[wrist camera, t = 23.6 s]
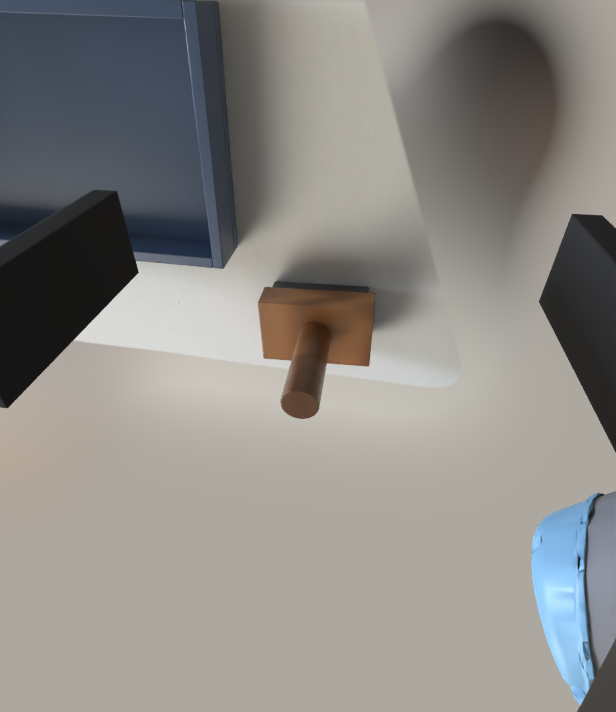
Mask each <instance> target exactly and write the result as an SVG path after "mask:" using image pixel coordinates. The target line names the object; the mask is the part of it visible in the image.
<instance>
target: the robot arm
mask: <svg viewBox="0 0 616 712" xmlns="http://www.w3.org/2000/svg"><path fill="white" fill-rule="evenodd" d="M138 273H139V272H138V268H137V265H136V261H135V257H134V253H133V249H132V246H131V242H130V238H129V234H128V230H127V227H126V223H125V219H124V215H123V211H122V208H121V204H120V200H119V196H118V192H117V191H109V190H92V191H91V192H89V193H87V194H86V195H84V196H82V197H81V198H79V199H77V200H76V201H74V202H72V203H71V204H69V205H67V206H66V207H64V208H62V209H61V210H59V211H57V212H56V213H54V214H52V215H51V216H49V217H47V218H46V219H44V220H42V221H41V222H39V223H37V224H36V225H34V226H32V227H31V228H29V229H27V230H26V231H24V232H22V233H21V234H19V235H17V236H16V237H14V238H13V239H11V240H9V241H8V242H6V243H4V244H3V245H1V246H0V407H2V408H8V407H9V406H10V405H11V404H12V403H13V402H14V401H15V400H16V399H17V398H18V397H19V396H20V395H21V394H22V393H23V392H24V391H25V390H26V388H27V387H29V386H30V384H31V383H32V382H33V381H34V380H35V379H36V378H37V377H38V376H39V375H40V374H41V373H42V372H43V371H44V370H45V369H46V368H47V367H48V366H49V365H50V364H51V363H52V362H53V361H54V360H55V359H56V357H58V355H59V354H60V353H61V352H62V351H63V350H64V349H65V348H66V347H67V346H68V345H69V344H70V343H71V342H72V341H73V340H74V339H75V338H76V337H77V336H78V335H79V334H80V333H81V332H82V331H83V330H84V329H85V328H86V326H87V325H88V324H89V323H90V322H91V321H92V320H93V319H94V318H95V317H96V316H97V315H98V314H99V313H100V312H101V311H102V310H103V309H104V308H105V307H106V306H107V305H108V304H109V303H110V302H111V301H112V300H113V298H114V297H115V296H116V295H117V294H118V293H119V292H120V291H121V290H122V289H123V288H124V287H125V286H126V285H127V284H128V283H129V282H130V281H131V280H132V279H133V278H134V277H135V276H136V275H137V274H138ZM539 303H540V305H541V306H542V309H543V311H544V313H545V314H546V317H547V318H548V320H549V322H550V324H551V326H552V328H553V330H554V332H555V334H556V336H557V338H558V340H559V342H560V344H561V346H562V348H563V350H564V352H565V354H566V356H567V358H568V360H569V362H570V363H571V365H572V368H573V369H574V371H575V373H576V375H577V377H578V379H579V381H580V383H581V385H582V387H583V389H584V391H585V393H586V395H587V396H588V399H589V401H590V403H591V405H592V407H593V409H594V411H595V412H596V414H597V416H598V418H599V420H600V422H601V424H602V426H603V428H604V430H605V432H606V434H607V436H608V438H609V440H610V442H611V444H612V446H613V448H614V450H615V452H616V228H615V227H614V226H613V225H611V224H610V223H609V222H608V221H607V220H606V219H605V218H604V217H603V216H602V215H582V214H581V215H580V214H572V215H571V218H570V221H569V223H568V226H567V229H566V231H565V234H564V237H563V239H562V242H561V245H560V247H559V250H558V253H557V255H556V258H555V261H554V263H553V266H552V269H551V271H550V274H549V277H548V279H547V282H546V284H545V287H544V290H543V292H542V295H541V298H540V301H539ZM531 563H532V564H531V565H532V577H533V584H534V592H535V597H536V602H537V606H538V610H539V615H540V618H541V622H542V625H543V629H544V632H545V635H546V638H547V641H548V644H549V647H550V650H551V653H552V655H553V658H554V660H555V662H556V665H557V667H558V669H559V671H560V673H561V675H562V677H563V679H564V681H565V682H566V683H567V684H568V685H570V687H571V690H572V694H573V696H574V698H575V699H576V701H577V702H578V703H579V704H580V707H579V709H578V711H577V712H616V492H612V493H609V494H606V495H604V494H600V493H597V494H593V495H591V496H590V497H589V498H588V499H587V500H586V501H583V502H580V503H578V504H575V505H572V506H570V507H567V508H565V509H562V510H559V511H557V512H554V513H552V514H550V515H548V516H547V517H545V518H544V519H543V520H542V521H541V523H540V524H539V526H538V528H537V529H536V532H535V535H534V538H533V543H532V557H531Z"/></svg>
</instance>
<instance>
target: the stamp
mask: <svg viewBox="0 0 616 712" xmlns="http://www.w3.org/2000/svg"><path fill="white" fill-rule="evenodd" d="M374 302H375V293H369V287H362V286H343V285H325V284H307V283H289V282H274V285H273V287H265V288H264V290H263V292H262V295H261V297H260V299H259V301H258V308H259V318H260V328H261V338H262V347H263V357H264V358H266V359H279V360H292V361H291V365H290V368H289V372H288V375H287V379H286V383H285V386H284V390H283V393H282V397H281V407H282V409H283V410H284V411H285V412H286V413H287V414H288V415H290V416H292V417H295V418H300V419H305V418H310V417H312V416H314V415H315V414H316V413H317V412H318V410H319V405H320V399H321V393H322V388H323V382H324V376H325V371H326V365H327V363H331V364H344V365H357V366H369V362H370V351H371V340H372V328H373V317H374Z"/></svg>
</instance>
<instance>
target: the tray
mask: <svg viewBox="0 0 616 712" xmlns="http://www.w3.org/2000/svg"><path fill="white" fill-rule="evenodd" d="M92 190H109V191H117V192H118V196H119V200H120V204H121V208H122V211H123V215H124V219H125V223H126V227H127V230H128V234H129V238H130V242H131V246H132V249H133V253H134V257H135V261H145V262H156V263H167V264H177V265H188V266H199V267H210V268H213V267H214V268H221V269H223V268H224V267H225V265H226V264H227V262H228V261H229V259H230V257H231V256H232V254H233V253H234V251H235V249H236V248H237V234H236V221H235V209H234V196H233V183H232V171H231V158H230V145H229V133H228V120H227V108H226V95H225V82H224V70H223V57H222V44H221V32H220V19H219V7H218V2H217V1H194V0H0V246H1V245H3V244H4V243H6V242H8V241H9V240H11V239H13V238H14V237H16V236H17V235H19V234H21V233H22V232H24V231H26V230H27V229H29V228H31V227H32V226H34V225H36V224H37V223H39V222H41V221H42V220H44V219H46V218H47V217H49V216H51V215H52V214H54V213H56V212H57V211H59V210H61V209H62V208H64V207H66V206H67V205H69V204H71V203H72V202H74V201H76V200H77V199H79V198H81V197H82V196H84V195H86V194H87V193H89V192H91V191H92Z"/></svg>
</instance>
